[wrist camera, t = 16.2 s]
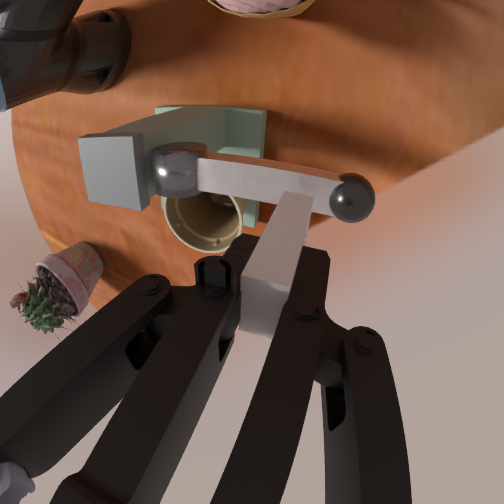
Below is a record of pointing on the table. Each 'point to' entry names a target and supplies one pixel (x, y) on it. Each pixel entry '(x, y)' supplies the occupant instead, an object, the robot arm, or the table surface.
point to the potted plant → (60, 287)
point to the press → (159, 133)
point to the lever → (258, 180)
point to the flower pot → (206, 220)
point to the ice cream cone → (262, 7)
